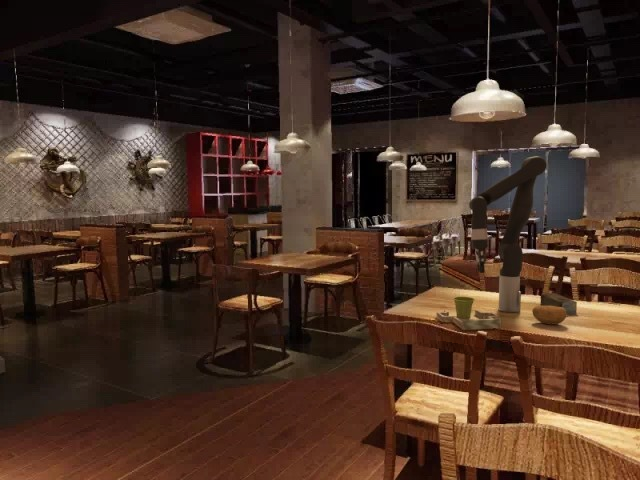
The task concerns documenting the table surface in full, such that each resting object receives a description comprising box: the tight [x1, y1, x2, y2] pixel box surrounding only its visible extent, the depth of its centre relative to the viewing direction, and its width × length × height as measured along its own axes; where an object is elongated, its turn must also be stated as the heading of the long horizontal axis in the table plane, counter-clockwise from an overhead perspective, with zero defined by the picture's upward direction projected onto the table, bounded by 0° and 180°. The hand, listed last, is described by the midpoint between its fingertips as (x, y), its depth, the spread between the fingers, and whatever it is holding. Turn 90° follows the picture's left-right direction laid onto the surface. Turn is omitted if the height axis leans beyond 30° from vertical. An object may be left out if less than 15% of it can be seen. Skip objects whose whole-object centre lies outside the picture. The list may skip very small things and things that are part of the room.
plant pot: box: [453, 296, 475, 319], centre depth 237 cm, size 9×9×9 cm
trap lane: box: [435, 309, 501, 331], centre depth 228 cm, size 26×23×4 cm
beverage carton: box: [540, 292, 578, 315], centre depth 250 cm, size 8×19×7 cm, turn 7°
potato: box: [531, 305, 568, 325], centre depth 224 cm, size 10×14×8 cm
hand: (481, 272), depth 244 cm, fingers open, 8 cm apart
